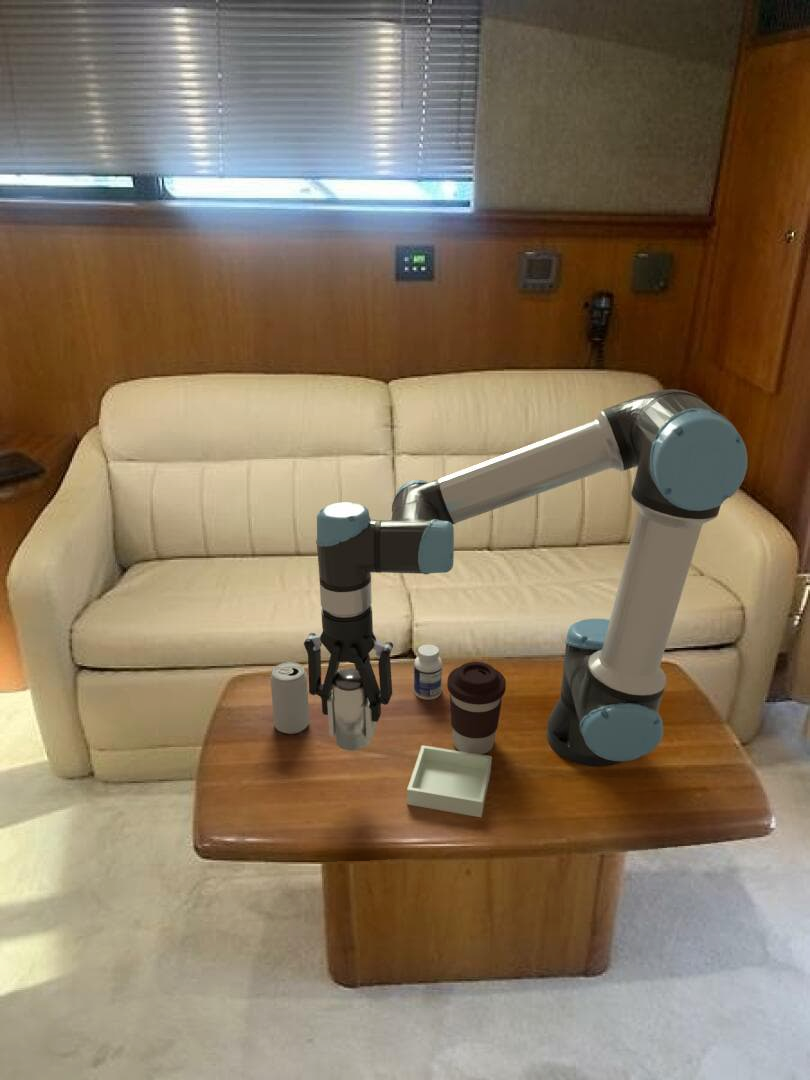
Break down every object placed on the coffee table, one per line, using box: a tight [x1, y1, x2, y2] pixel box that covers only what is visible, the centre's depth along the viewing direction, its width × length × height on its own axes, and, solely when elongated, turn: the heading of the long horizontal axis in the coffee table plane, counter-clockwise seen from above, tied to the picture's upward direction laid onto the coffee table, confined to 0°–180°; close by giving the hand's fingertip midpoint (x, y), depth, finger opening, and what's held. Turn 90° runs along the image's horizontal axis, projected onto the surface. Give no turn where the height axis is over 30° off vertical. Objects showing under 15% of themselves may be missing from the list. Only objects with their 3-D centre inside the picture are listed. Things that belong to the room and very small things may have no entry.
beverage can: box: [270, 661, 310, 735], centre depth 141 cm, size 6×6×12 cm
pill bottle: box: [413, 644, 443, 700], centre depth 151 cm, size 5×5×10 cm
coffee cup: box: [446, 661, 507, 755], centre depth 136 cm, size 10×10×15 cm
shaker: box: [332, 668, 370, 752], centre depth 124 cm, size 6×6×12 cm
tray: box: [406, 744, 493, 818], centre depth 129 cm, size 12×11×3 cm
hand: (352, 732), depth 126 cm, fingers closed on shaker, 5 cm apart
